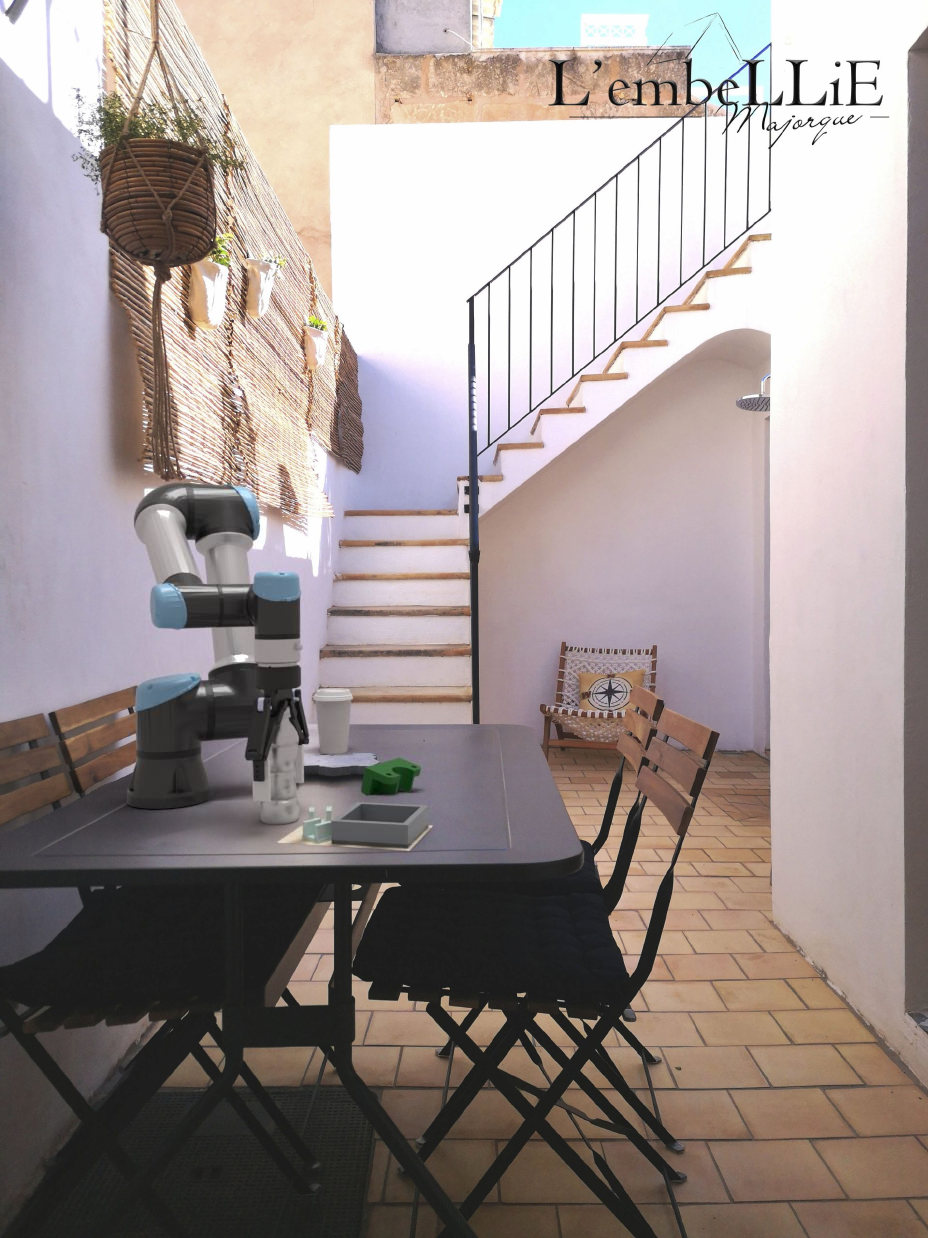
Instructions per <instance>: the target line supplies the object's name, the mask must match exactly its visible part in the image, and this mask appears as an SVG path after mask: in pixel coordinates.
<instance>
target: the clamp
mask: <svg viewBox="0 0 928 1238" xmlns="http://www.w3.org/2000/svg"><path fill="white" fill-rule="evenodd" d="M421 770H422V767H421V766H420V765H418V764H415V763H414V762H411V761H408V760H406V759H404V758H401V757H398V758H393V759H390V760H386V761H382V762H380V763H376V764H372V765H369V766H366V767H365V768H364V773H363V777H362V781H361V787H360V792H361V794H363V795H366V796H380V795H385V796H389V795H390V796H391V795H398V790H401V791H405V792H406V793H412V789H413V785H414V781H415V780H414V779H415V777H419V776H420V774H421Z"/></svg>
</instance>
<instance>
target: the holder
mask: <svg viewBox="0 0 928 1238" xmlns="http://www.w3.org/2000/svg"><path fill="white" fill-rule="evenodd" d="M332 819H333V820H332V821H331V838H332V844H342V845H358V846H375V847H392V848H409V847H410V846H411V845H412V844H413V843H414V842H415V841H416V840H417V839H418V837H419V836H420V835H421V834H422V833H423V832H424V831H425V830H426V829H427V828H428V825H429V805H428V804H427V805H424V804H423V805H422V804H406V803H405V804H403V803H385V802H363V801H357V802H356V803H354V804H353V805H351V806H350V807H349V808H347V809H345V811H343V812H342V813H340V814H339V815H337V816H336V817H335V818H332Z"/></svg>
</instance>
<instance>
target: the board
mask: <svg viewBox="0 0 928 1238" xmlns="http://www.w3.org/2000/svg"><path fill="white" fill-rule="evenodd" d="M432 827H433V825H429V824H428V828H427V829H426V830H425V831H424V832H423V833H422V834H421V835H420V836H419V837H418V839H417V840H416V841H415V842H414V843H413V844H412V845H411V846H410V847H409V848H392V847H375V846H358V845H342V844H332V840H330V841H326V842H323V843H319V844H318V843H314V842H311V841H308V840H304V839H302V835H303V824H302V825H300V826H299V827H297V828H296V829H295V830H293V831H291V832H290V833H288V834H287V835H285V836H284V837H283V838H281V839H280V840H278V841H277V842H276V844H287V845H288V844H289V845H304V846H305V845H306V846H321V847H339V848H353V849H355V848H357V849H370V850H371V849H373V850H388V851H403V852H405V851H406V852H410V851H411V850H412V849H413V848H414V847H415V846H416V844H417V843H419V841H420V840H421V839H422V838H423V837H424V836H425V835H426V834H427V833H428V832H429V831H430V830H431V829H432Z"/></svg>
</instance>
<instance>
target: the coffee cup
mask: <svg viewBox="0 0 928 1238" xmlns="http://www.w3.org/2000/svg"><path fill="white" fill-rule="evenodd" d="M313 700H314V701H315V703H314V704H315V711H316V720H317V721H316V722H317V731H318V742H319V752H320V754H323V755H342V754H346V753H347V752H348V748H349V747H348V746H349V745H348V744H349V735H350V733H349V732H350V721H351V720H350V718H351V707H352V701H353V700H354V697H353V694H352V693H351V690H350V689H348V688H338V687H337V688H334V687H333V688H332V687H331V688H321V689H317V690H316V692H315V694H314V695H313Z"/></svg>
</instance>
